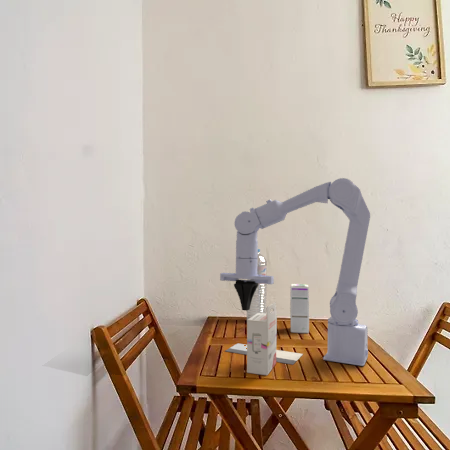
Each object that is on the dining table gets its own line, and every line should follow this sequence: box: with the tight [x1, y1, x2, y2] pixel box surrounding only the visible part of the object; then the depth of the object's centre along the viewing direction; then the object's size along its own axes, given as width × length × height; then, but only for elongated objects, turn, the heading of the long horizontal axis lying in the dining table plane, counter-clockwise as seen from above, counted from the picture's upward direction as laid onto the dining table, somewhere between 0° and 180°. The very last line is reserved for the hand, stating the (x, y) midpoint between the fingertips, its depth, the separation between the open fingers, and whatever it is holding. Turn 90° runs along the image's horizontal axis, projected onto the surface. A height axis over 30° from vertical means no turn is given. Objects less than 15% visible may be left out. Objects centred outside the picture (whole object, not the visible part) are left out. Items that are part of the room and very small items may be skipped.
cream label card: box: [276, 349, 304, 366], centre depth 98 cm, size 9×9×1 cm
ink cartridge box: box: [246, 301, 278, 376], centre depth 90 cm, size 9×5×15 cm, turn 159°
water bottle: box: [246, 248, 268, 321], centre depth 138 cm, size 7×7×25 cm
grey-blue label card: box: [224, 342, 247, 356], centre depth 104 cm, size 8×8×1 cm
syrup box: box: [289, 283, 310, 334], centre depth 125 cm, size 6×6×14 cm
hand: (245, 309), depth 104 cm, fingers closed
